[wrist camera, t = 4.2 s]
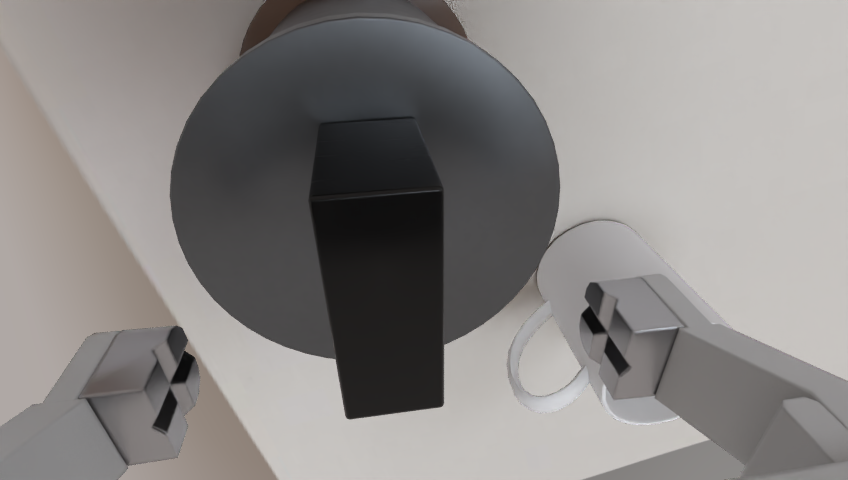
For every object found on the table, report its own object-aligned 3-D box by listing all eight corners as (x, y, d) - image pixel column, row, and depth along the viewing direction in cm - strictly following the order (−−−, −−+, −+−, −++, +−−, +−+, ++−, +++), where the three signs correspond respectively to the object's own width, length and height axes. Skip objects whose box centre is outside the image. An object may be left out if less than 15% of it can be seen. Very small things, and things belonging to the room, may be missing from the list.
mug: (637, 202, 32) (749, 302, 23) (644, 287, 36) (740, 399, 27) (466, 262, 32) (511, 382, 23) (492, 339, 37) (539, 464, 28)
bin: (273, 200, 26) (190, 501, 12) (226, -17, 20) (-36, 72, 6) (462, 184, 27) (588, 442, 13) (467, -25, 22) (698, 35, 8)
